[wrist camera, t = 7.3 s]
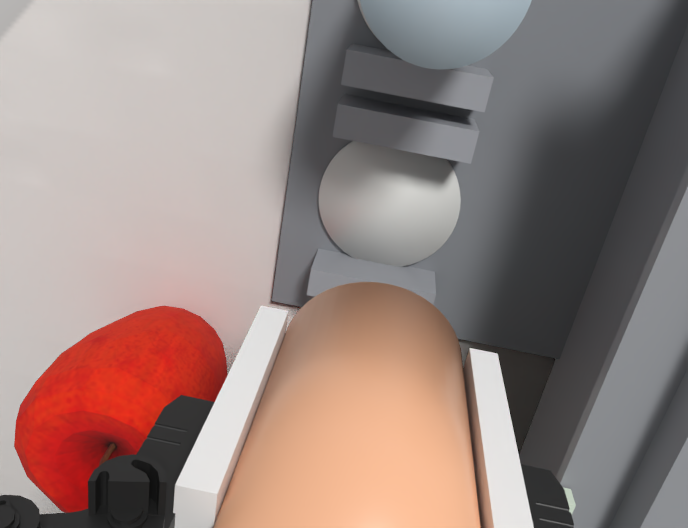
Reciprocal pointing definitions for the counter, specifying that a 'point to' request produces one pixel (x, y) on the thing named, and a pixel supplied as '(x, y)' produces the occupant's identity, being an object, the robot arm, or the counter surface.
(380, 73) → the housing
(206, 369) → the apple
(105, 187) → the counter surface
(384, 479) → the peg
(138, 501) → the robot arm
